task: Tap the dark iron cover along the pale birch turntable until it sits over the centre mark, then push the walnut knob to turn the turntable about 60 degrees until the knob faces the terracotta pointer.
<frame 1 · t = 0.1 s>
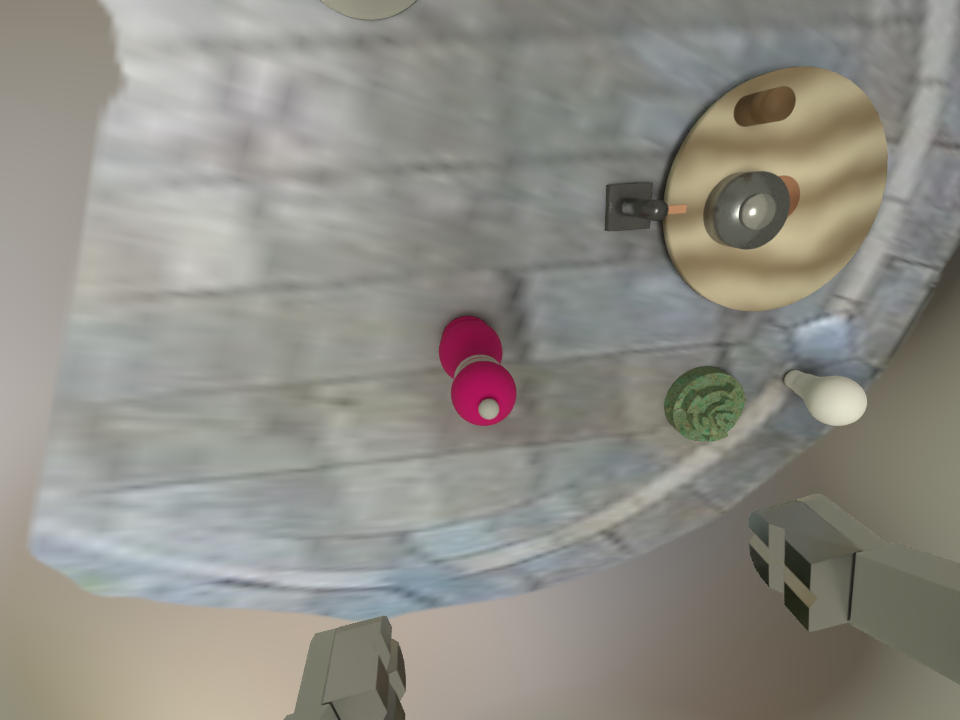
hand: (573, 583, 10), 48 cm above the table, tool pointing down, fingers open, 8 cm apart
turntable: (790, 199, 52), point 5 cm above the table, hinge at 0.0°, touching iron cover
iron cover: (737, 209, 54), point 3 cm above the table, touching turntable
pepper mill: (466, 339, 59), on the table
lightbulb: (787, 375, 67), on the table
pointer: (626, 206, 55), on the table
decorative artifact: (697, 399, 66), on the table
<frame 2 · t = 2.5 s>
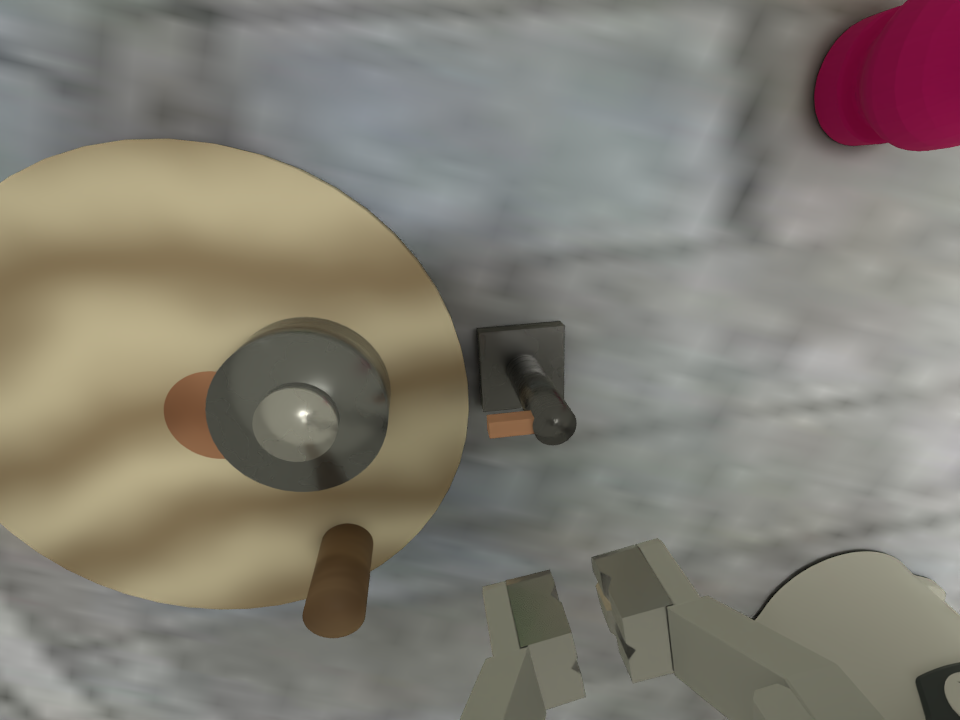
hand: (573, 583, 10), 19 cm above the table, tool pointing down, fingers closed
turntable: (202, 433, 23), point 5 cm above the table, hinge at 0.0°, touching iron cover
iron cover: (312, 391, 25), point 3 cm above the table, touching turntable
pepper mill: (862, 84, 26), on the table
pointer: (519, 363, 29), on the table
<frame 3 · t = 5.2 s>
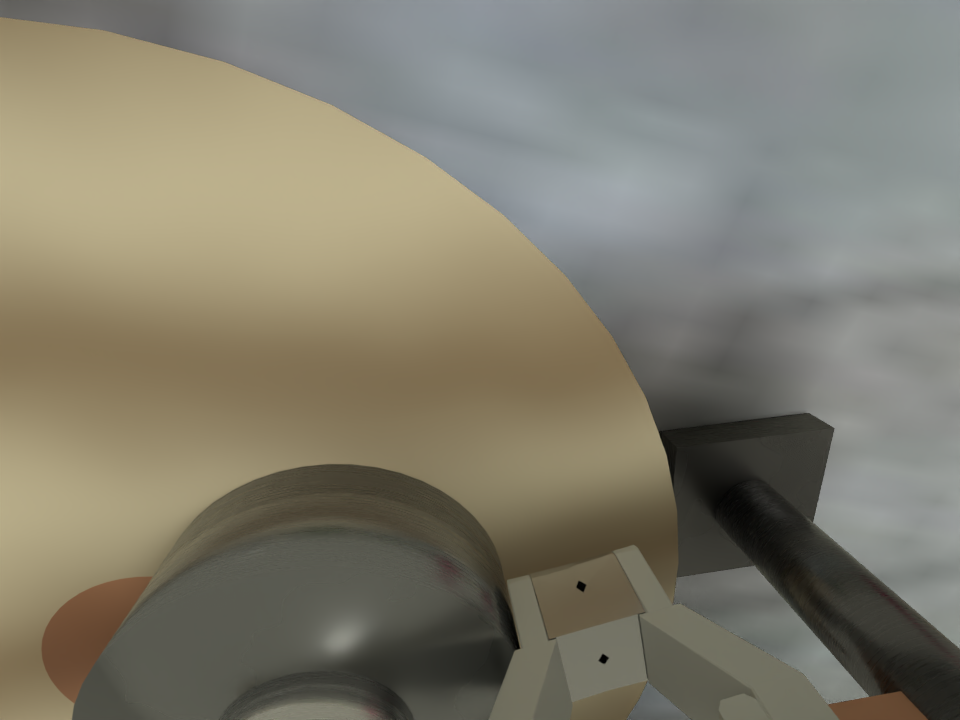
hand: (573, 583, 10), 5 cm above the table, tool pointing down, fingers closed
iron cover: (341, 607, 12), point 3 cm above the table
pointer: (726, 488, 16), on the table
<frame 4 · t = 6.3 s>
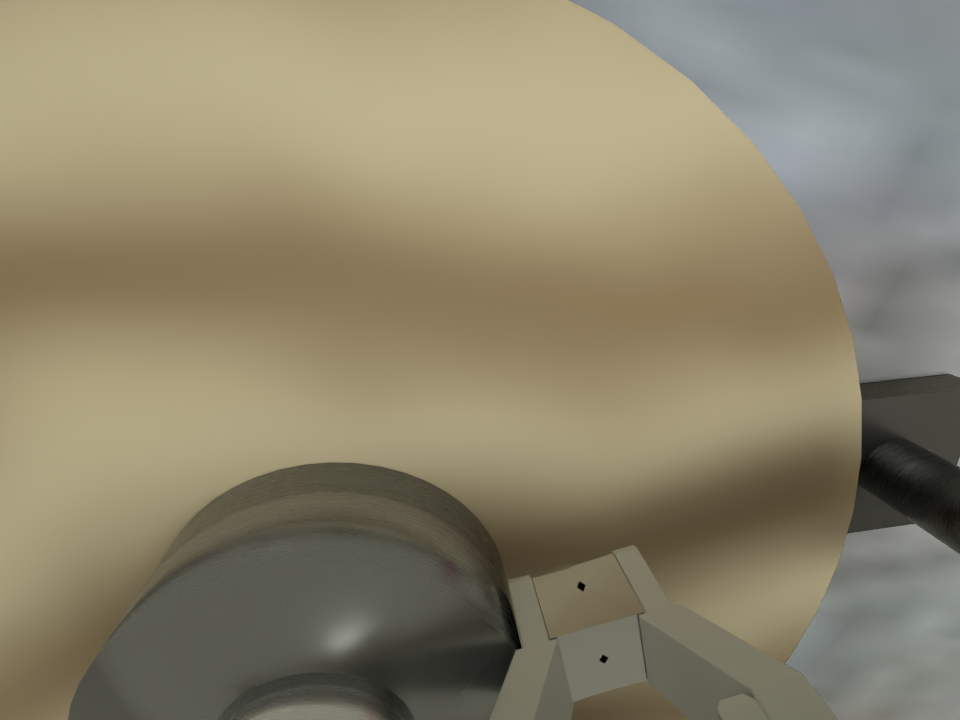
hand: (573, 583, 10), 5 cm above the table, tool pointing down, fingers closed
turntable: (340, 670, 10), point 5 cm above the table, hinge at 0.0°, touching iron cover
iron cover: (340, 606, 11), point 3 cm above the table, touching gripper, turntable
pointer: (861, 449, 16), on the table
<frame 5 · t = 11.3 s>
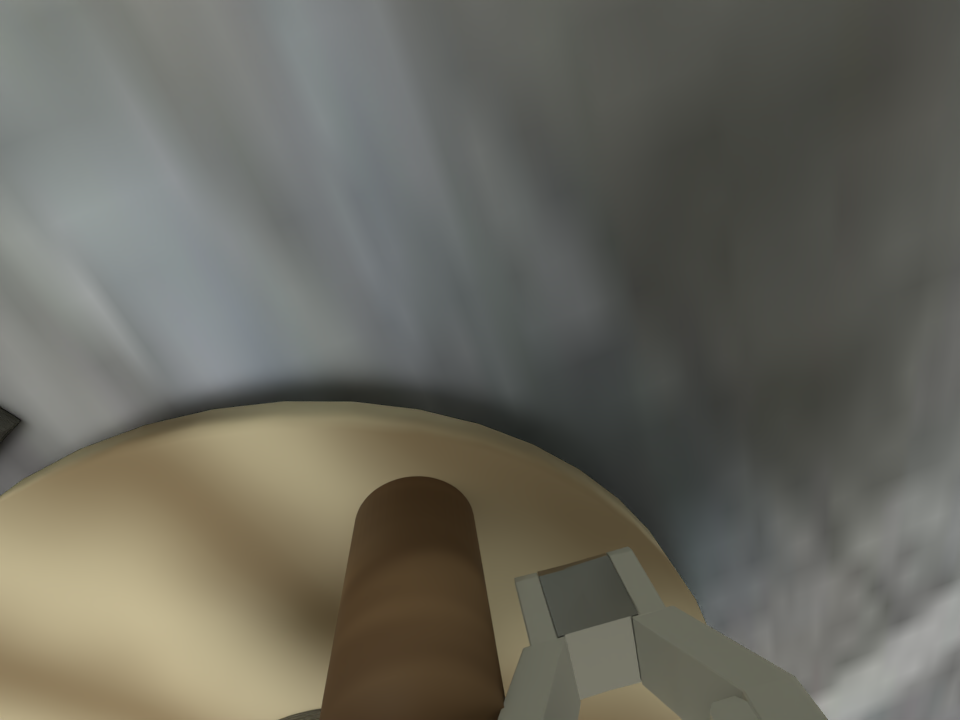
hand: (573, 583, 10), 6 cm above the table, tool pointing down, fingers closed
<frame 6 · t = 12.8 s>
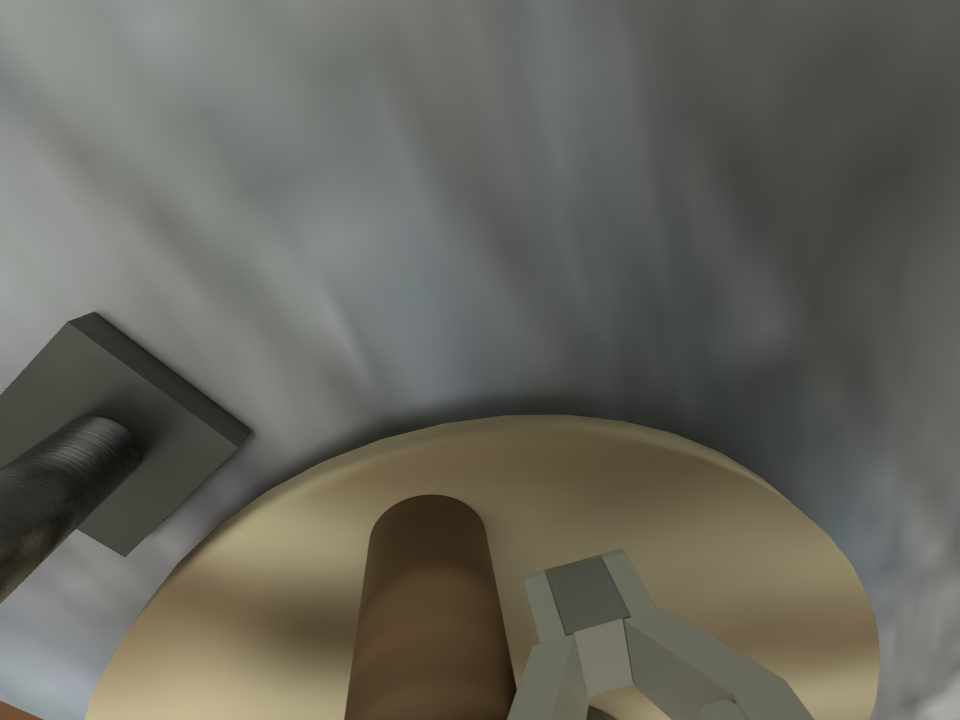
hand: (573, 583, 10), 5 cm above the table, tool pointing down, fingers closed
pointer: (120, 432, 14), on the table
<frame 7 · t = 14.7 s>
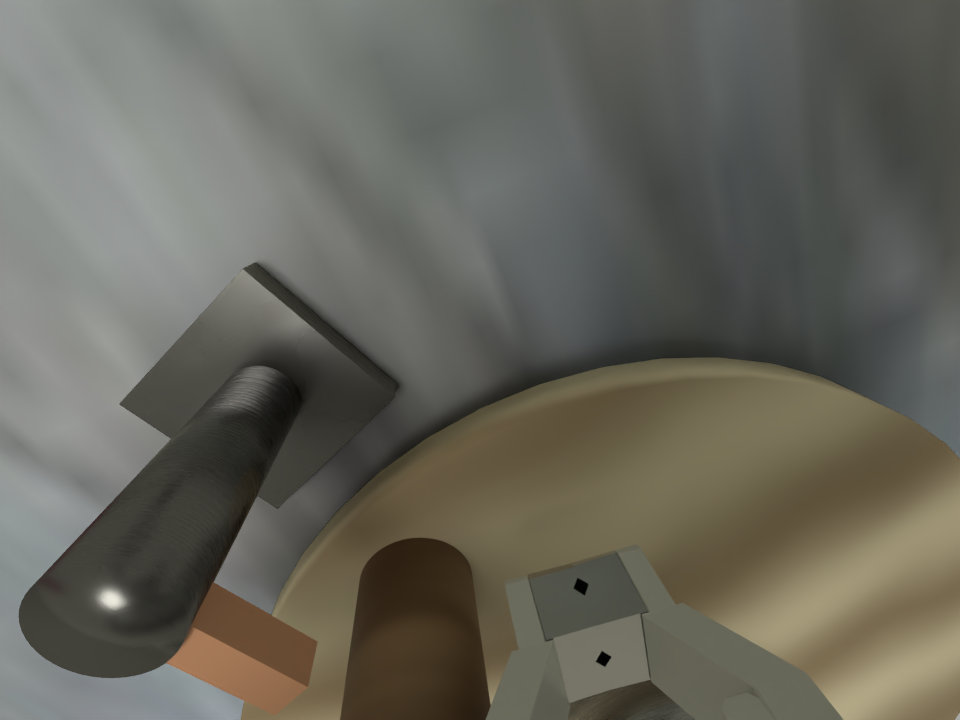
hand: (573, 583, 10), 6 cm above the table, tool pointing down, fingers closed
pointer: (272, 385, 14), on the table
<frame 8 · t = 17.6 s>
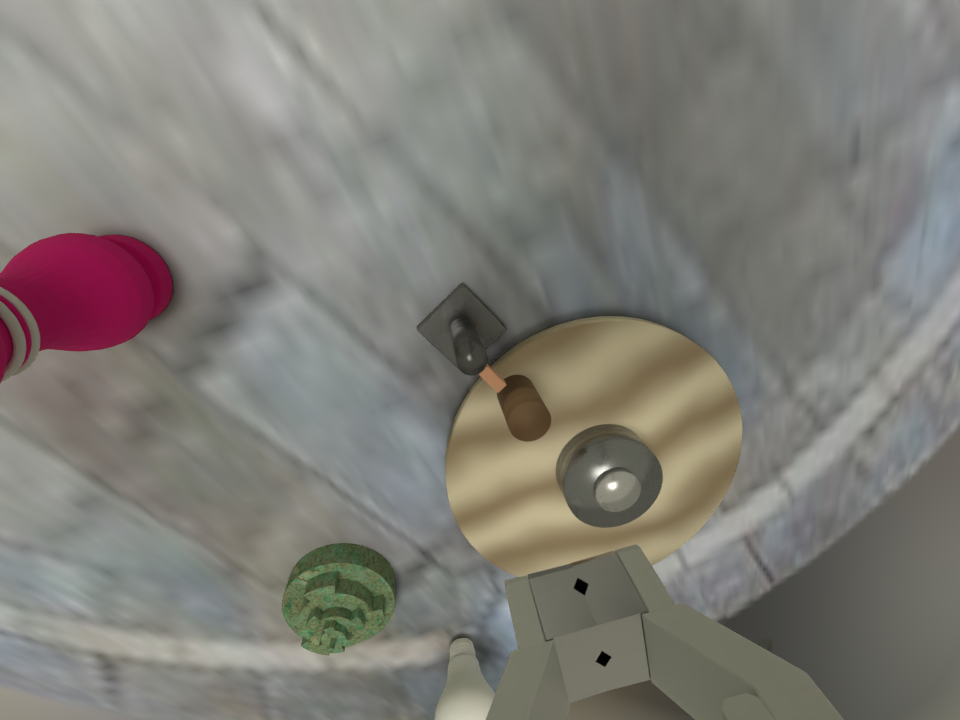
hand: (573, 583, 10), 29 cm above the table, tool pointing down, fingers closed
turntable: (605, 479, 39), point 5 cm above the table, hinge at 61.5°, touching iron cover
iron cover: (601, 465, 41), point 3 cm above the table, touching turntable
pepper mill: (127, 278, 34), on the table
lightbulb: (460, 638, 51), on the table
pointer: (461, 326, 38), on the table
decorative artifact: (343, 582, 46), on the table
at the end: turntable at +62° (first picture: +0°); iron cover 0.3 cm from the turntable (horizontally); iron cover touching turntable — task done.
